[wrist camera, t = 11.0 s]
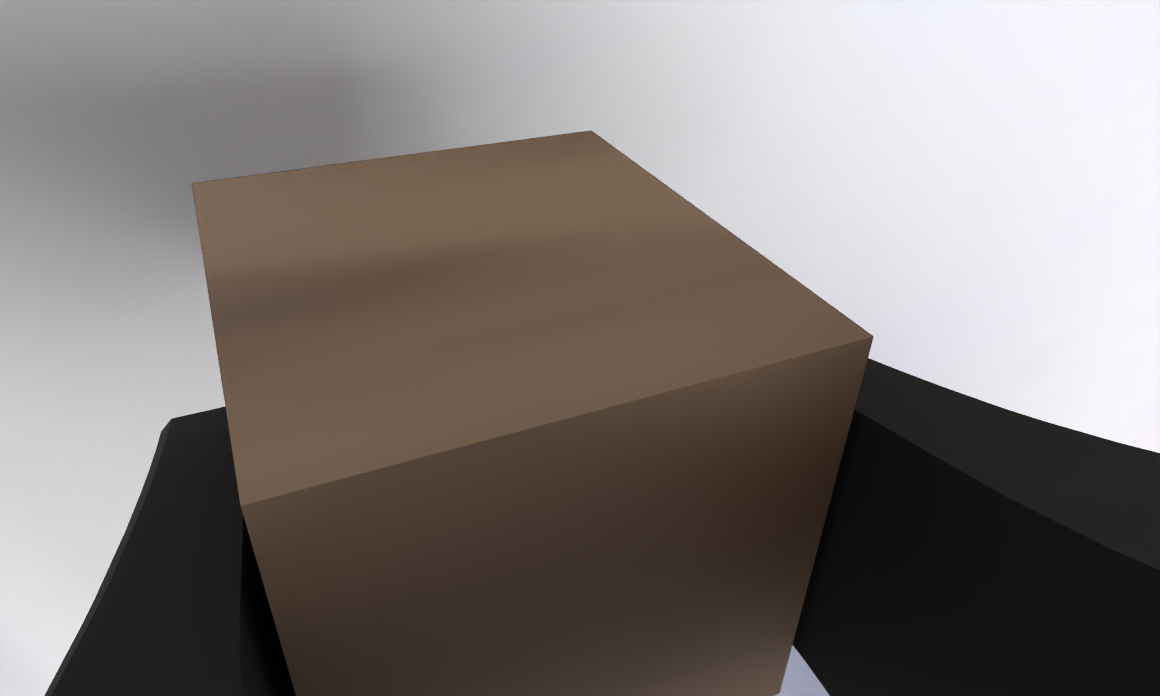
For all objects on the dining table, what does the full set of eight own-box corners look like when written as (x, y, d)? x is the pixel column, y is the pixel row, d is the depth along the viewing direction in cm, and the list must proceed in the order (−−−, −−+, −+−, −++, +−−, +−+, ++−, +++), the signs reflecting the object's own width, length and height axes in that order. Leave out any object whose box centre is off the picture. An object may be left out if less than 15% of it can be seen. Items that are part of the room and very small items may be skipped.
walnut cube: (583, 420, 12) (780, 693, 9) (274, 504, 11) (350, 883, 7) (591, 130, 10) (873, 336, 6) (191, 183, 8) (239, 506, 4)
